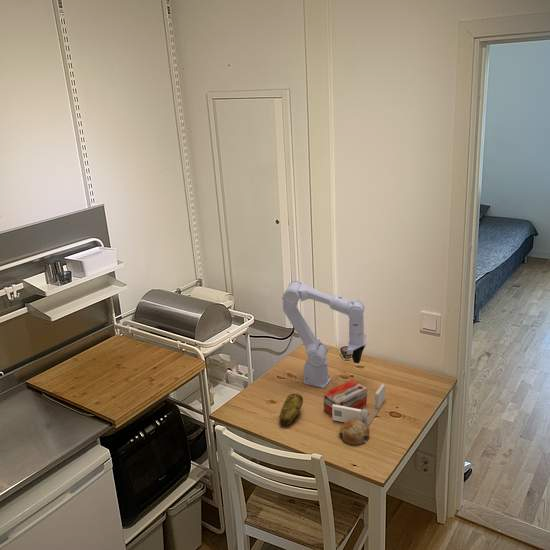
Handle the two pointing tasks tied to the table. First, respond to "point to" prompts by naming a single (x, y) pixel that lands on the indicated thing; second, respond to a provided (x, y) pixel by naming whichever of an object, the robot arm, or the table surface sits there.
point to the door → (345, 413)
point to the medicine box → (346, 396)
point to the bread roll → (354, 432)
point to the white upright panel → (378, 401)
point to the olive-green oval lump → (291, 408)
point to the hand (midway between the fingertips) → (356, 362)
